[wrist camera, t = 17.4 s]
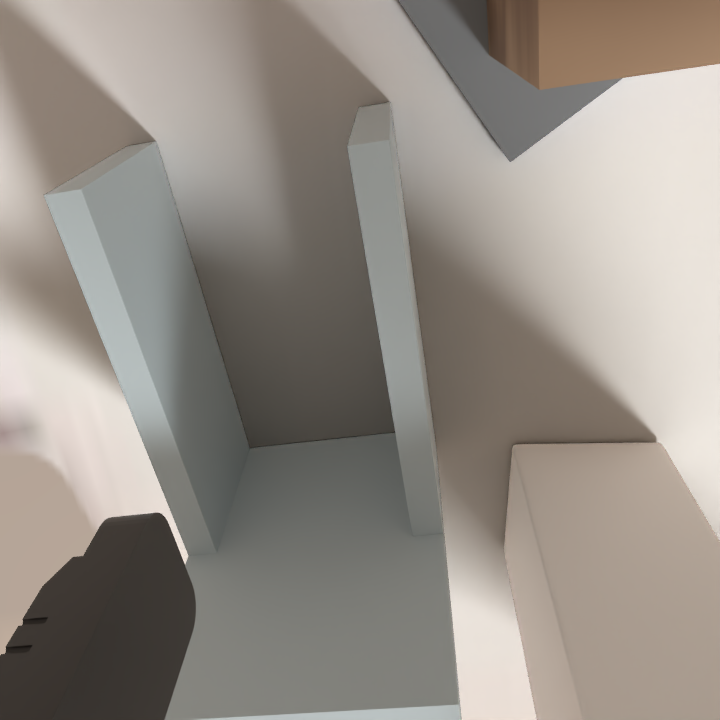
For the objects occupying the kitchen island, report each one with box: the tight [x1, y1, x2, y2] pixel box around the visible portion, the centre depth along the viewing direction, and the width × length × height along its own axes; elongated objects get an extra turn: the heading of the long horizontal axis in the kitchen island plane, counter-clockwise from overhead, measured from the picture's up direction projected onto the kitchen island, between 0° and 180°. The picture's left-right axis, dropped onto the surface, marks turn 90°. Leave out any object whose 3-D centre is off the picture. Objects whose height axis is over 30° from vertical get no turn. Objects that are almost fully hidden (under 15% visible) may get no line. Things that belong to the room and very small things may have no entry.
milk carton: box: [504, 443, 720, 720], centre depth 25 cm, size 7×7×19 cm
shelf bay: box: [44, 102, 462, 720], centre depth 23 cm, size 16×10×14 cm, turn 9°
